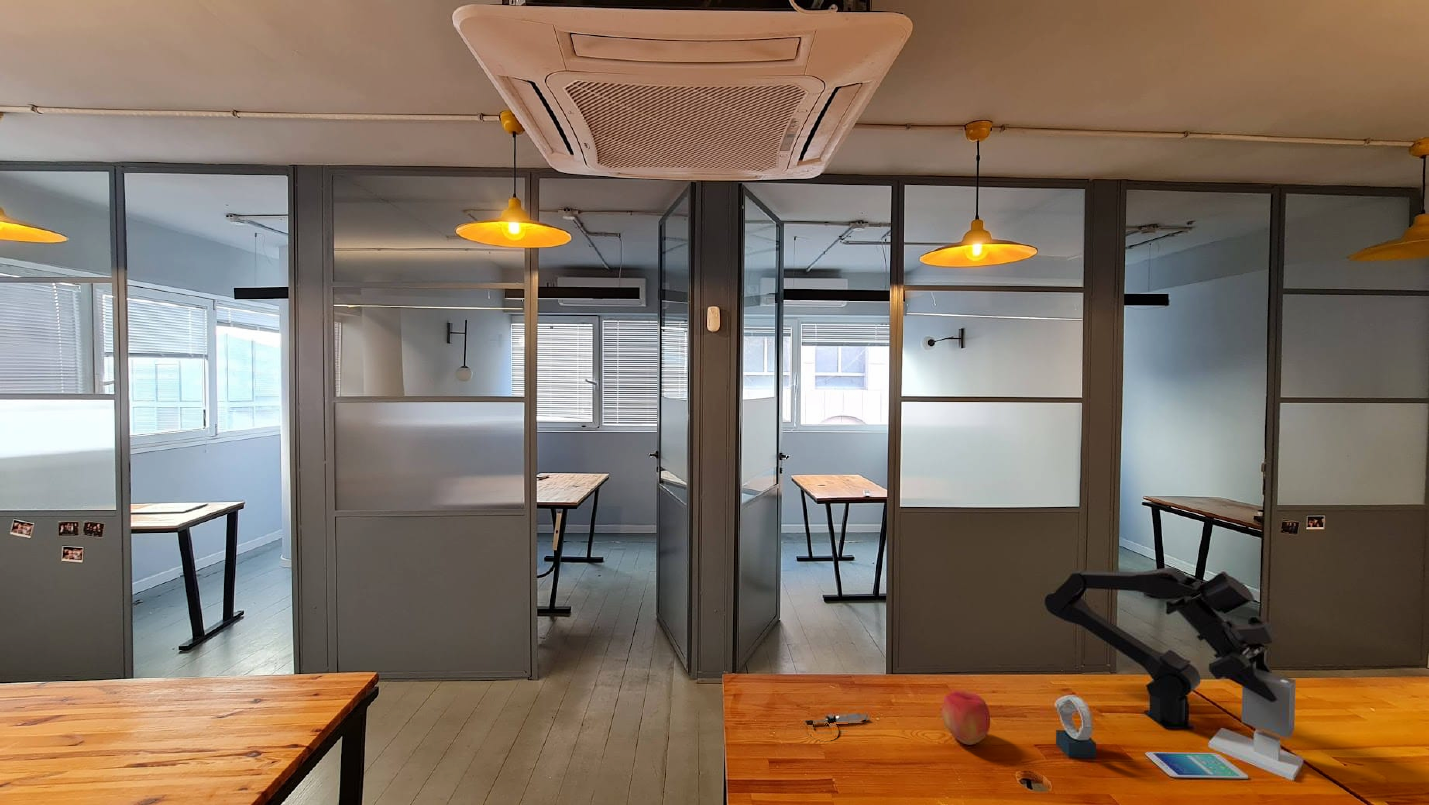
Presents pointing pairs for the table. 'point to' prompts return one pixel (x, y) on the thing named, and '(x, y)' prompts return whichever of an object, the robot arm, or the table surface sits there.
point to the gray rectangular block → (1271, 705)
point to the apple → (966, 716)
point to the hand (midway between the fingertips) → (1277, 696)
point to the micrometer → (841, 718)
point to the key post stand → (1258, 751)
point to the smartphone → (1195, 765)
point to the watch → (1070, 738)
